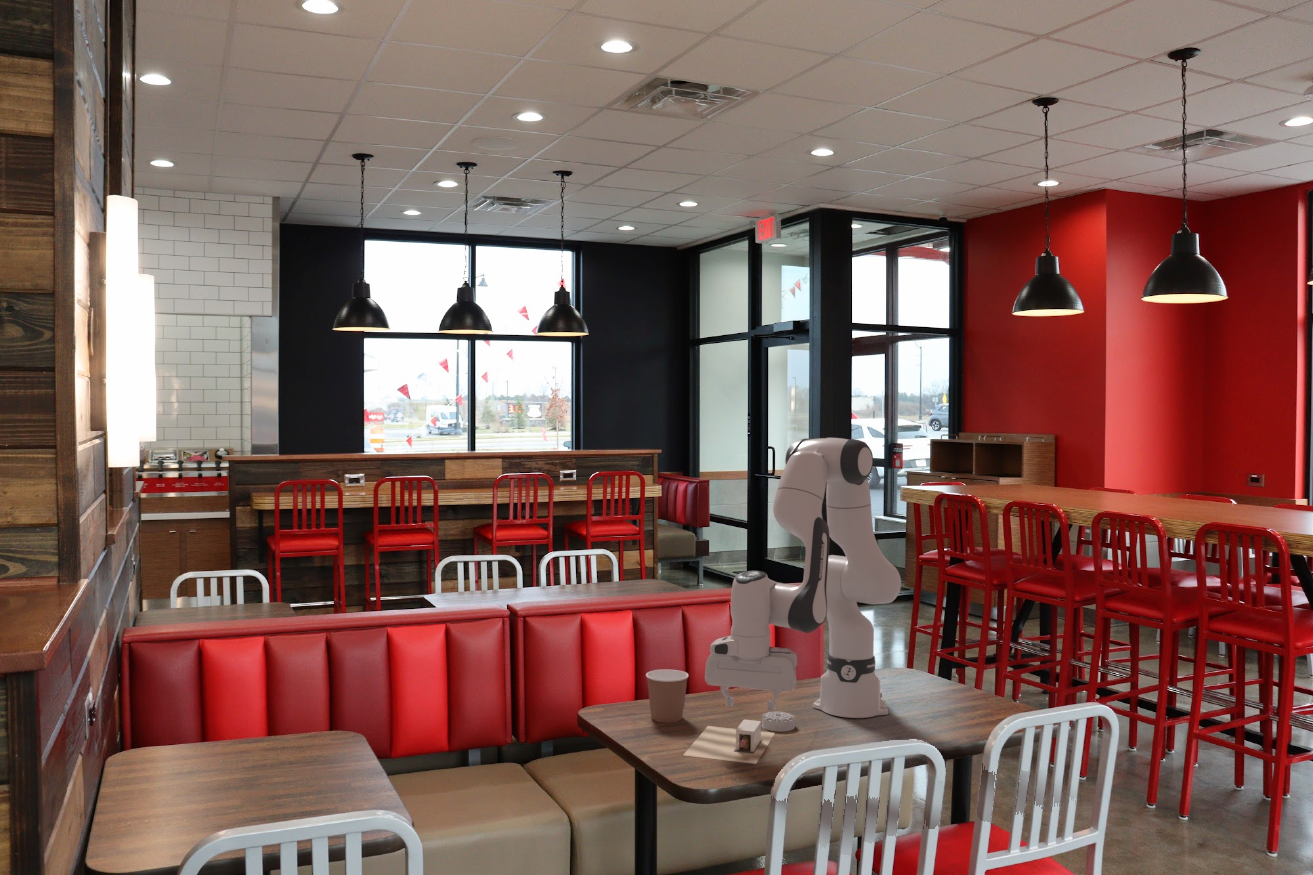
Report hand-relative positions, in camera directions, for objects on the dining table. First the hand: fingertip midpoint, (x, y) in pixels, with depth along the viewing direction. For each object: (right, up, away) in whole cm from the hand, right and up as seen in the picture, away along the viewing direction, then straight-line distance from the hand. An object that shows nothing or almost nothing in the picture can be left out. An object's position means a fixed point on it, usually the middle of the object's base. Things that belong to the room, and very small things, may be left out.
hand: (750, 707), depth 227 cm
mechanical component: (+8, -10, +14) cm, 19 cm away
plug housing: (-1, -8, -2) cm, 9 cm away
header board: (-4, -10, +1) cm, 11 cm away
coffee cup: (-18, -10, +20) cm, 29 cm away
